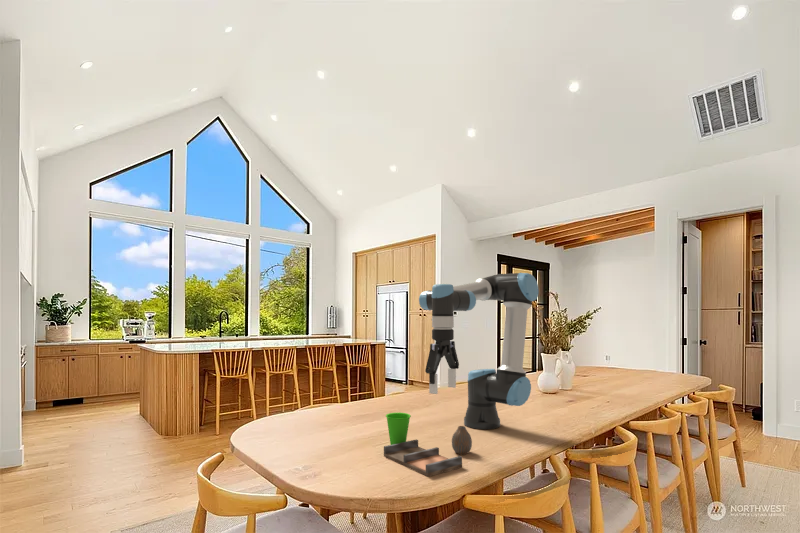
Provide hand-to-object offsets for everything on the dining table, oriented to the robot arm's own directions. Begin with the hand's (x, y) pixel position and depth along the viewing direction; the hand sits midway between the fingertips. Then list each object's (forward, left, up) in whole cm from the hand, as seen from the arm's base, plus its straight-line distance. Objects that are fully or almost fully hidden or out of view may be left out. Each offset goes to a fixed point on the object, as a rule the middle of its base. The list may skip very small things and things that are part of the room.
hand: (443, 390), depth 164 cm
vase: (-6, +3, -21) cm, 22 cm away
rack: (+11, +2, -21) cm, 24 cm away
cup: (+8, -15, -21) cm, 27 cm away
